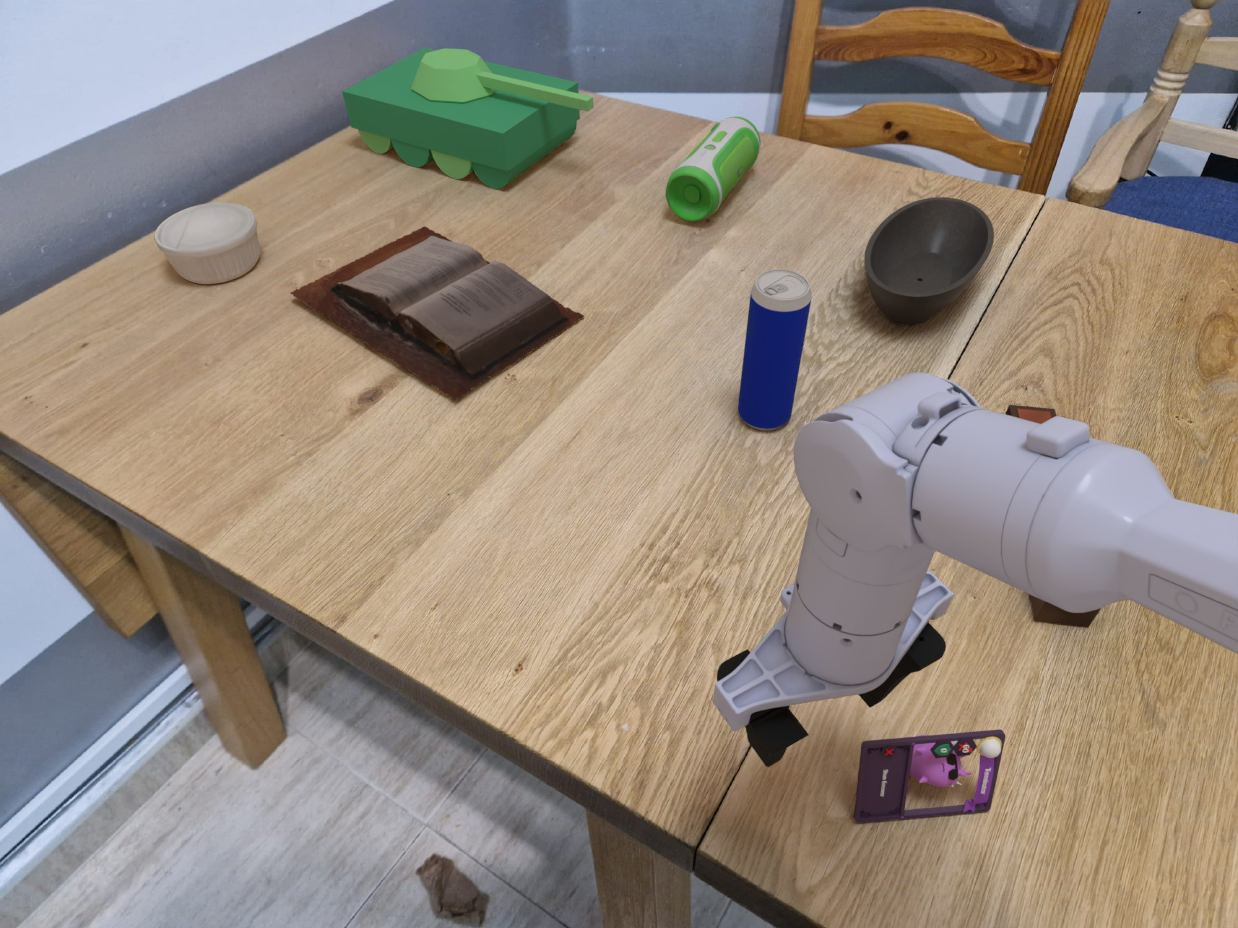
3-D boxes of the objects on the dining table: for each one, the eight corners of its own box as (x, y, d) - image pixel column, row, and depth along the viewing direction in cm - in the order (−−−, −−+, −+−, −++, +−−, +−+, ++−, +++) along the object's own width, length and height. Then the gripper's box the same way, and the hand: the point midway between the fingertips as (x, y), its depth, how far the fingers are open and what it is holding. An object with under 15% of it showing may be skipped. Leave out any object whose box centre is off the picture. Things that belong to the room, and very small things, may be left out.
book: (456, 408, 85) (452, 372, 82) (289, 298, 98) (280, 263, 95) (590, 325, 97) (591, 290, 94) (426, 236, 109) (422, 203, 106)
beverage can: (766, 391, 86) (784, 260, 75) (801, 419, 83) (826, 288, 72) (726, 411, 84) (739, 280, 73) (761, 441, 81) (780, 309, 70)
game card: (867, 754, 52) (1012, 741, 53) (841, 696, 57) (974, 685, 57) (858, 832, 55) (995, 820, 56) (834, 771, 60) (960, 760, 60)
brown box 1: (1040, 440, 81) (1055, 407, 78) (1047, 470, 78) (1064, 438, 75) (995, 436, 81) (1009, 403, 78) (1001, 466, 78) (1016, 433, 75)
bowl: (829, 325, 94) (839, 276, 89) (897, 233, 106) (909, 186, 102) (940, 361, 89) (956, 311, 85) (997, 260, 102) (1013, 213, 97)
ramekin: (157, 261, 104) (139, 222, 101) (245, 230, 109) (231, 191, 105) (191, 302, 98) (173, 262, 94) (283, 267, 103) (270, 227, 99)
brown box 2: (1077, 586, 69) (1097, 554, 66) (1088, 627, 66) (1109, 596, 63) (1025, 580, 69) (1042, 548, 67) (1034, 621, 67) (1052, 590, 64)
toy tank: (552, 117, 103) (335, 63, 116) (559, 210, 112) (357, 151, 125) (626, 65, 113) (419, 21, 126) (627, 154, 122) (434, 104, 135)
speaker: (714, 232, 107) (718, 176, 102) (660, 220, 110) (662, 164, 104) (761, 171, 118) (767, 117, 113) (711, 161, 121) (715, 107, 115)
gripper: (909, 481, 47) (863, 622, 57) (686, 589, 42) (676, 722, 52) (1008, 570, 43) (939, 706, 53) (771, 702, 38) (744, 825, 48)
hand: (813, 721), depth 52 cm, fingers open, 7 cm apart
